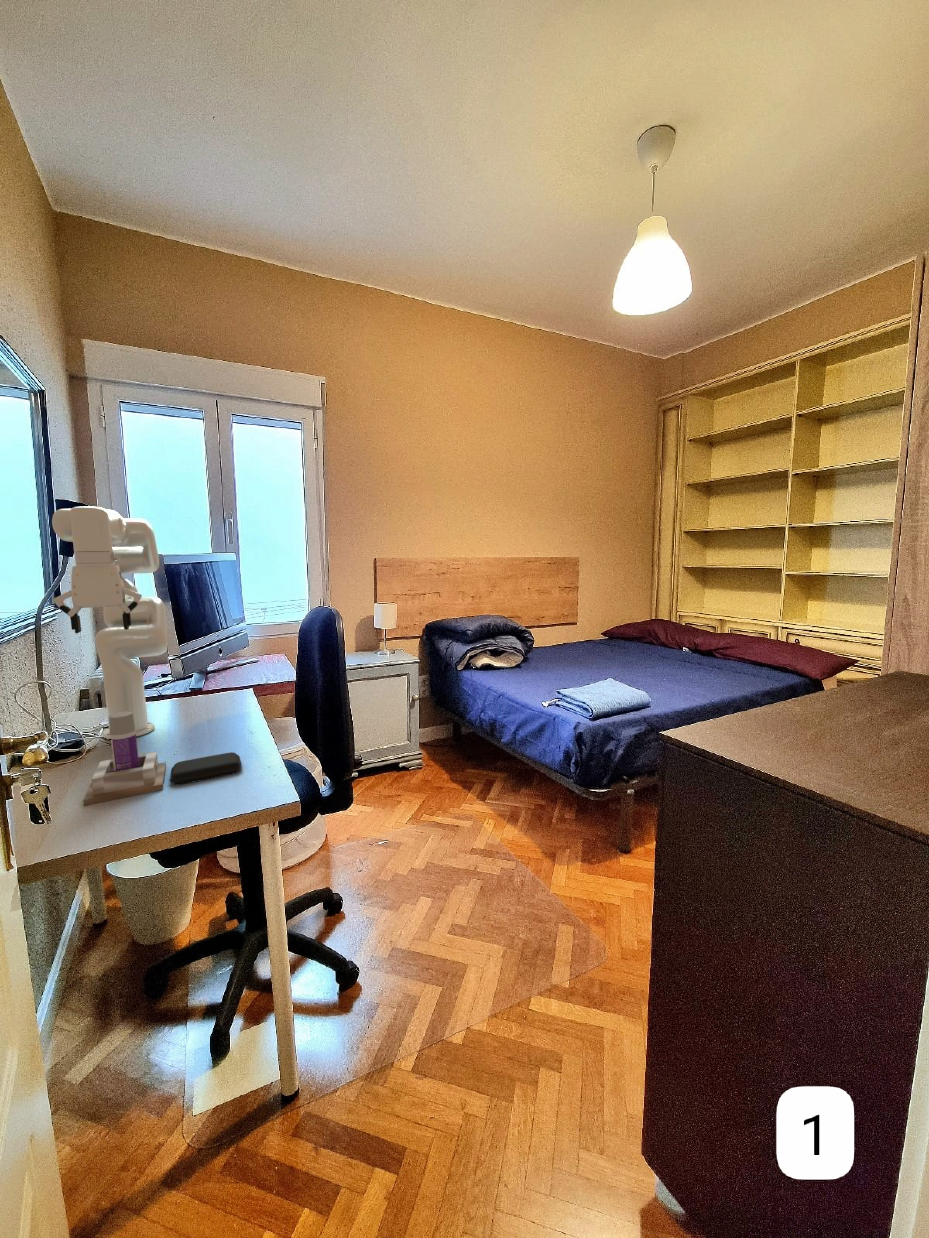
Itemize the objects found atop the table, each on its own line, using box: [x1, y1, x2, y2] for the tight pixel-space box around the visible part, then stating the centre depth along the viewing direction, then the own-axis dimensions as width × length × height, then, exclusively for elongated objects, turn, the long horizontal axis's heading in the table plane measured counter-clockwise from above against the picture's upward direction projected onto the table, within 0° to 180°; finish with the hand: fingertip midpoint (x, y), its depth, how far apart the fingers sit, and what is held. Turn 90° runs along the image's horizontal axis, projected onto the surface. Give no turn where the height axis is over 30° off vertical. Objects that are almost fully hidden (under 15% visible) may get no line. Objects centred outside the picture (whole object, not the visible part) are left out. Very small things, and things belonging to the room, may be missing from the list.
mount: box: [82, 751, 167, 806], centre depth 112 cm, size 14×14×5 cm
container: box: [108, 711, 139, 772], centre depth 112 cm, size 5×5×15 cm
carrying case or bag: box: [169, 751, 243, 785], centre depth 119 cm, size 11×3×15 cm
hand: (102, 630), depth 122 cm, fingers open, 9 cm apart
